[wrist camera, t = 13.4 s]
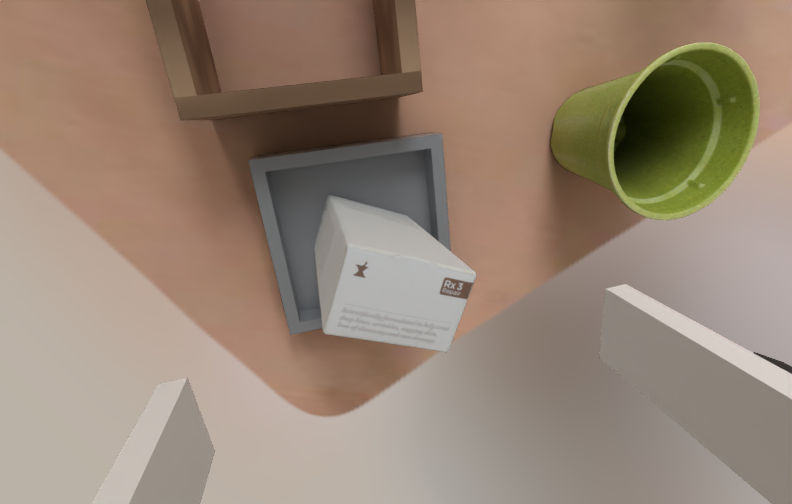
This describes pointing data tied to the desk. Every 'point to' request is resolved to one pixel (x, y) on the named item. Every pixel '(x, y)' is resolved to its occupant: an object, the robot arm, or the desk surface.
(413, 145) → the charcoal tray
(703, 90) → the plant pot
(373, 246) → the skincare box
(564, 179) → the desk surface
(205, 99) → the walnut box
